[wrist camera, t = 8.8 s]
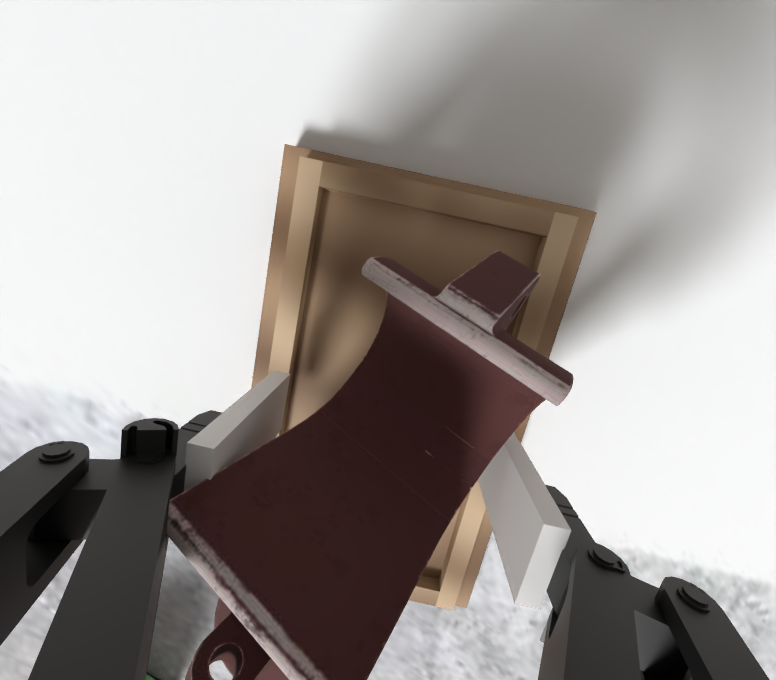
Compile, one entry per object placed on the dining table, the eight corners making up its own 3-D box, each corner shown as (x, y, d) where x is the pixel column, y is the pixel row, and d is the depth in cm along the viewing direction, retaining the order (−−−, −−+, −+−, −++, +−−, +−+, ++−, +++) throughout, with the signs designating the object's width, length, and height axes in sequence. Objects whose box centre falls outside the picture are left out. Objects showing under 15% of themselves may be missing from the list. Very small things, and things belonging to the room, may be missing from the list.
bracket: (606, 307, 12) (641, 435, 4) (390, 577, 20) (232, 832, 11) (453, 221, 14) (241, 174, 6) (307, 497, 21) (116, 663, 13)
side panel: (293, 151, 17) (278, 138, 16) (584, 215, 17) (606, 209, 15) (238, 537, 22) (222, 564, 20) (463, 589, 22) (468, 621, 20)
